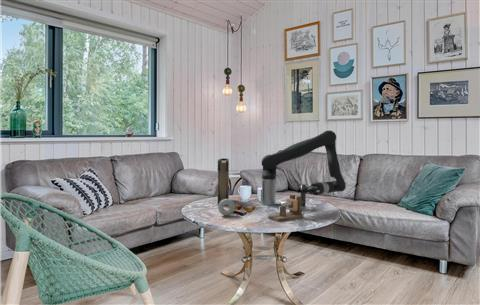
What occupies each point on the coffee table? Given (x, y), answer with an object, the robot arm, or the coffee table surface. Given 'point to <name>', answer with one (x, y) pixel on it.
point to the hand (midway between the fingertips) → (299, 191)
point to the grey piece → (301, 196)
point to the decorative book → (223, 179)
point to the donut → (223, 203)
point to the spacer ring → (295, 204)
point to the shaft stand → (290, 215)
